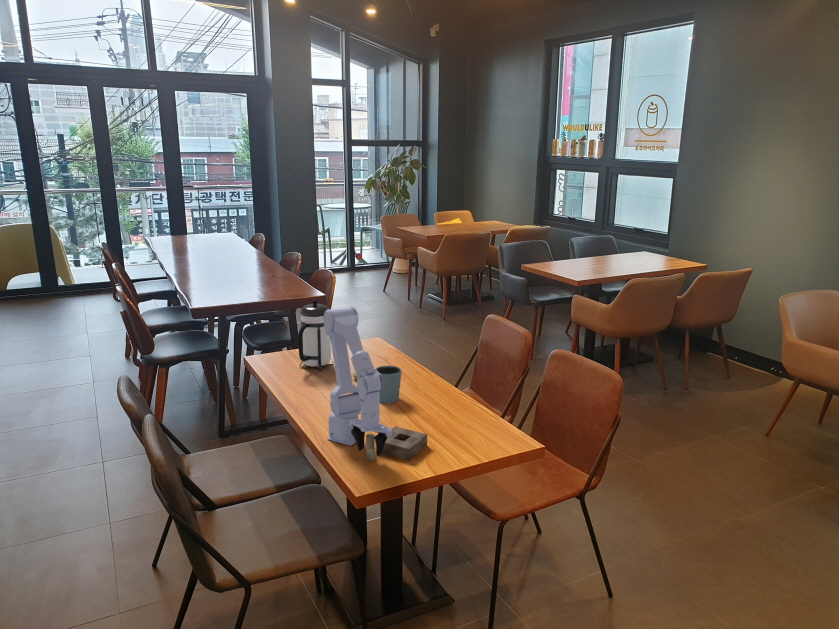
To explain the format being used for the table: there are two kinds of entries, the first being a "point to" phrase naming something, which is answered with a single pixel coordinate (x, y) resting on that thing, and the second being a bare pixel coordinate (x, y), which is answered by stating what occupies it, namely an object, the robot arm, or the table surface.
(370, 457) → the dowel
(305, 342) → the coffee press
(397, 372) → the teal cup
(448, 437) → the table surface
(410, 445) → the square block with hole
